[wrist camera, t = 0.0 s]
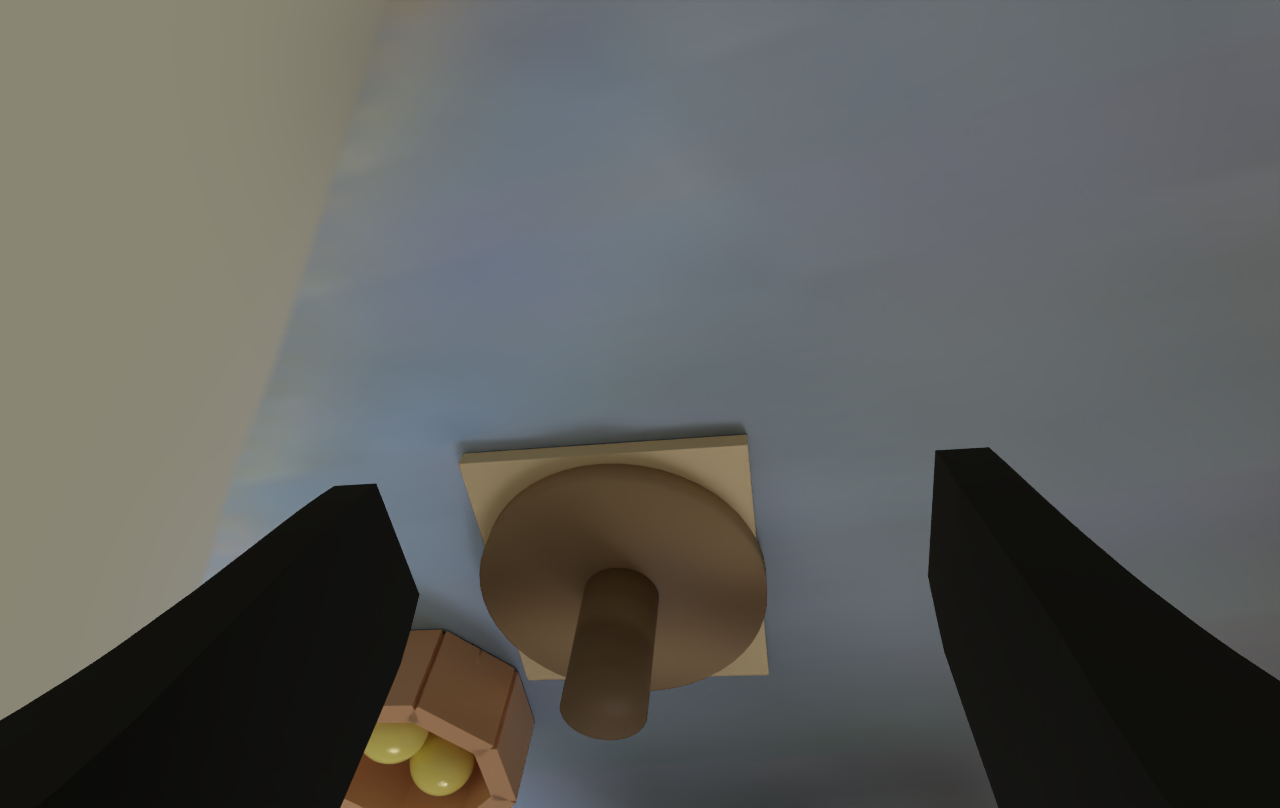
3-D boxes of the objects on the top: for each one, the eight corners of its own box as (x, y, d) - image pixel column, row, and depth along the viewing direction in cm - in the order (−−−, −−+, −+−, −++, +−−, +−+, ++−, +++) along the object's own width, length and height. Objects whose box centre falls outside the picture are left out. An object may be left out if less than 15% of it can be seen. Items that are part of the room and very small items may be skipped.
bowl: (546, 759, 30) (530, 837, 28) (372, 760, 31) (340, 836, 29) (503, 627, 27) (479, 704, 24) (307, 633, 28) (265, 708, 25)
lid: (774, 668, 26) (782, 811, 22) (520, 673, 27) (483, 810, 23) (755, 452, 21) (761, 582, 17) (454, 472, 23) (395, 596, 19)
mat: (768, 662, 26) (768, 675, 26) (531, 668, 28) (528, 680, 27) (746, 434, 22) (747, 445, 21) (463, 453, 23) (458, 463, 23)
